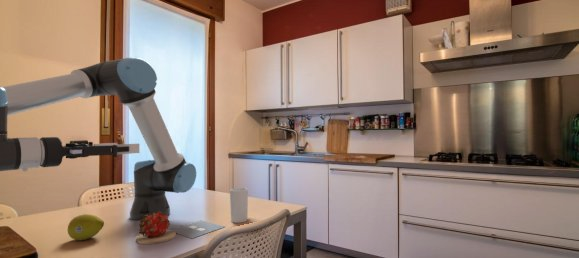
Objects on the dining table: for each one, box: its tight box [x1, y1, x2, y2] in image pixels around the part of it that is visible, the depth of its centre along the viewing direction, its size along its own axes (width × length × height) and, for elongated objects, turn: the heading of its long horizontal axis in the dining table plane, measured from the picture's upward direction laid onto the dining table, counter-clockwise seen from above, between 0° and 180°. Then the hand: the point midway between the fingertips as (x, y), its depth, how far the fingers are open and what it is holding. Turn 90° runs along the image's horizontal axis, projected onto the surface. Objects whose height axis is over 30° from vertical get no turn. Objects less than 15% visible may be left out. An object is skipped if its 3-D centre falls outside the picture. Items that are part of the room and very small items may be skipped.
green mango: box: [67, 213, 105, 241], centre depth 98 cm, size 11×8×8 cm
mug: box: [229, 187, 249, 224], centre depth 118 cm, size 10×7×12 cm, turn 161°
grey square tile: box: [169, 219, 226, 239], centre depth 107 cm, size 14×14×1 cm
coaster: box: [135, 229, 177, 245], centre depth 99 cm, size 12×12×1 cm
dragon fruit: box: [138, 212, 171, 238], centre depth 99 cm, size 8×8×12 cm
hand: (127, 147), depth 92 cm, fingers open, 13 cm apart
